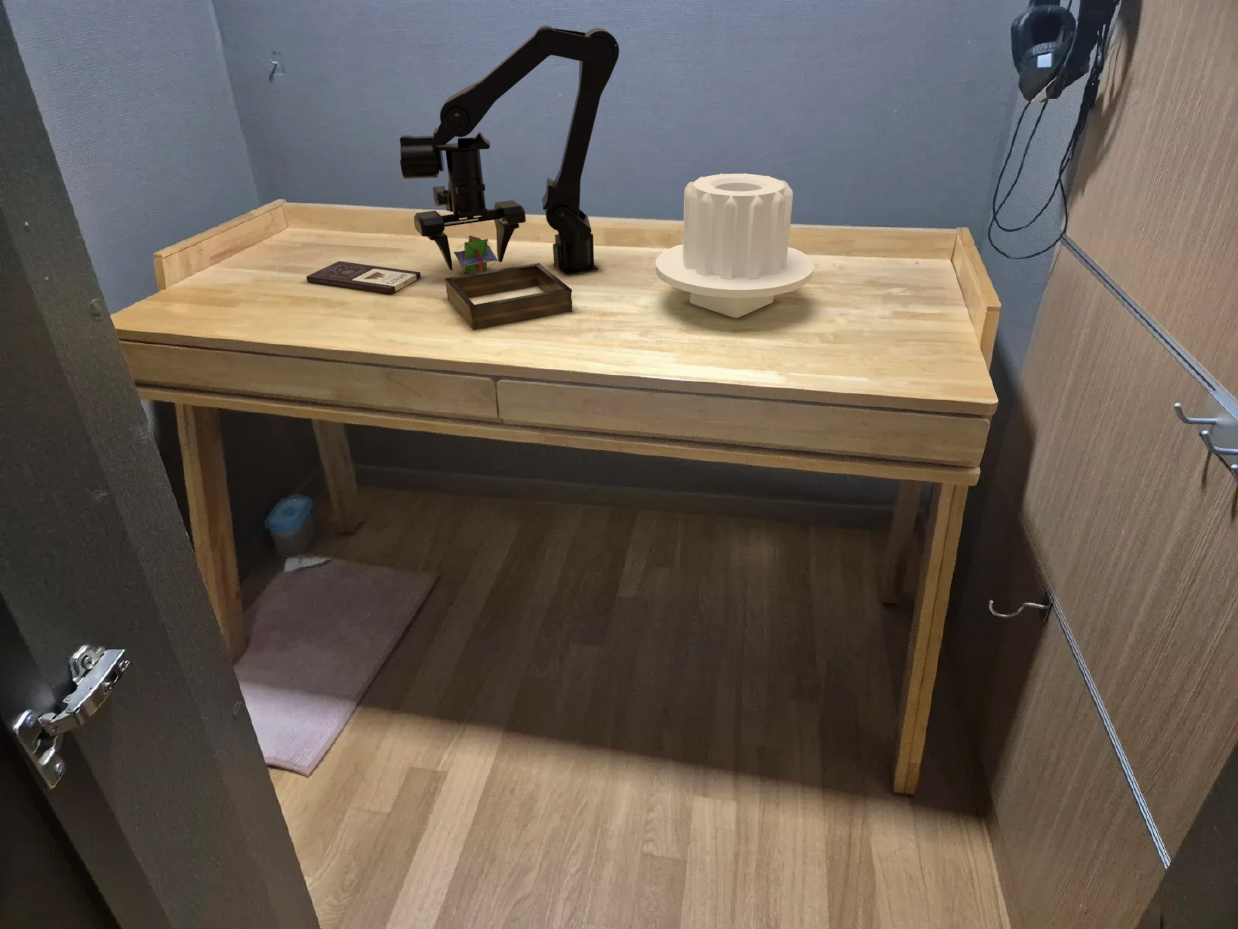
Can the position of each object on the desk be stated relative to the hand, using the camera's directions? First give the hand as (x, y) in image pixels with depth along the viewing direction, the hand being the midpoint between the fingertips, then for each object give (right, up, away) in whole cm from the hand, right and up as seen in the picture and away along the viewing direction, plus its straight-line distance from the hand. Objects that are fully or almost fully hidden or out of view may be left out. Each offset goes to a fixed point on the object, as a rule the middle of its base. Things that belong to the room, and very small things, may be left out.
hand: (475, 265), depth 147 cm
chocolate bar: (-20, -3, -1) cm, 20 cm away
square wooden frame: (+8, -10, -13) cm, 18 cm away
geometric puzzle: (0, -1, +1) cm, 2 cm away
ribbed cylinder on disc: (+44, -10, -13) cm, 47 cm away
